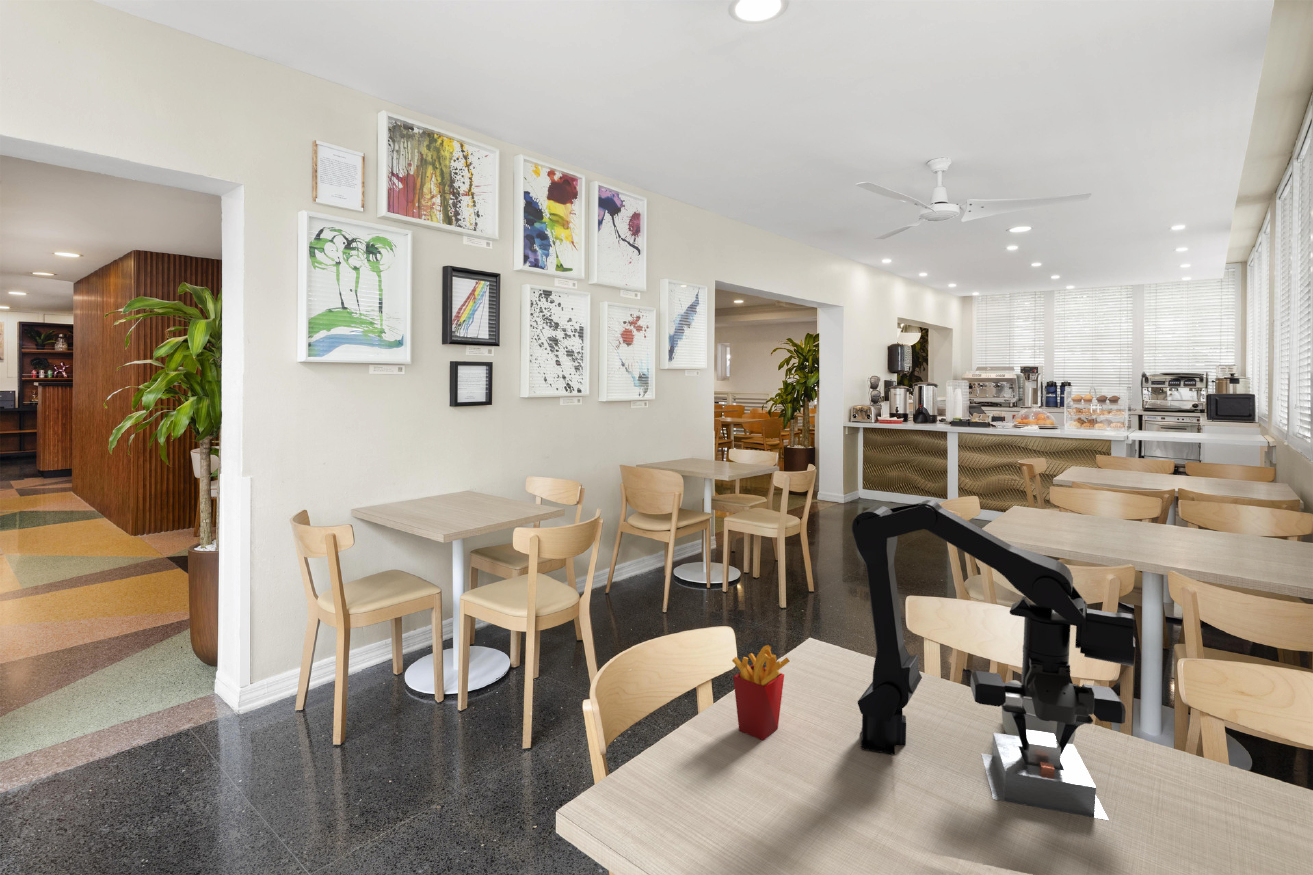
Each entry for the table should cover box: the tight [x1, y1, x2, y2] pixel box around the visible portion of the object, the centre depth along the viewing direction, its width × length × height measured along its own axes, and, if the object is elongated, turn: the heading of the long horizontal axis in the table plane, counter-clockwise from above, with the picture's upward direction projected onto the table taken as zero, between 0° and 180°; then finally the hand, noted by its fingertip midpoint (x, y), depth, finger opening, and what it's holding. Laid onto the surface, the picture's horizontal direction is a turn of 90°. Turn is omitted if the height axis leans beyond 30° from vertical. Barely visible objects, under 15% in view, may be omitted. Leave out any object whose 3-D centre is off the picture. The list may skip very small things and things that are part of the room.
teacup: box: [1001, 679, 1077, 745], centre depth 109 cm, size 14×11×8 cm
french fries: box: [731, 644, 790, 741], centre depth 112 cm, size 9×8×15 cm
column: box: [1022, 730, 1061, 770], centre depth 96 cm, size 4×4×7 cm
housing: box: [980, 732, 1109, 821], centre depth 96 cm, size 14×12×6 cm
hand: (1041, 751), depth 95 cm, fingers closed on column, 4 cm apart
